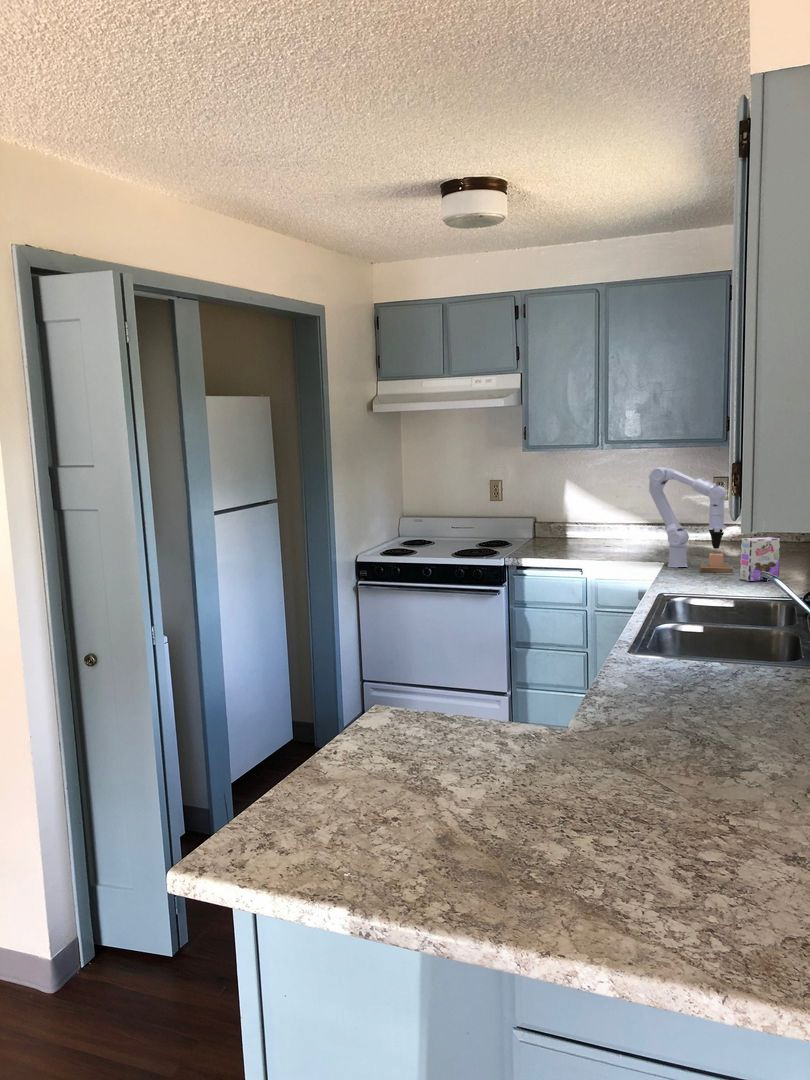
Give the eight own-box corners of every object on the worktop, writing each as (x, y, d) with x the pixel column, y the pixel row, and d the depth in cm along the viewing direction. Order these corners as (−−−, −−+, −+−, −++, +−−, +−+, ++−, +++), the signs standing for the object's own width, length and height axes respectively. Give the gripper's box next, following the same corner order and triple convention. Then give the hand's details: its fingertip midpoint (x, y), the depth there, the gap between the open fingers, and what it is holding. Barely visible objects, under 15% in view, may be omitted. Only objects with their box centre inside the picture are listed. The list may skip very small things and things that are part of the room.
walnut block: (699, 570, 353) (700, 563, 352) (730, 571, 349) (730, 564, 349) (700, 574, 341) (701, 567, 341) (732, 576, 338) (732, 568, 337)
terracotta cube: (709, 565, 348) (709, 553, 347) (721, 565, 347) (722, 553, 346) (710, 566, 343) (710, 554, 343) (722, 567, 342) (723, 555, 341)
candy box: (748, 582, 319) (750, 539, 317) (738, 580, 324) (740, 538, 323) (779, 580, 322) (781, 538, 321) (769, 578, 328) (770, 536, 326)
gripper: (727, 516, 341) (726, 549, 343) (725, 513, 355) (724, 545, 356) (709, 516, 343) (708, 549, 345) (708, 513, 357) (707, 545, 358)
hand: (715, 547), depth 351 cm, fingers open, 7 cm apart
